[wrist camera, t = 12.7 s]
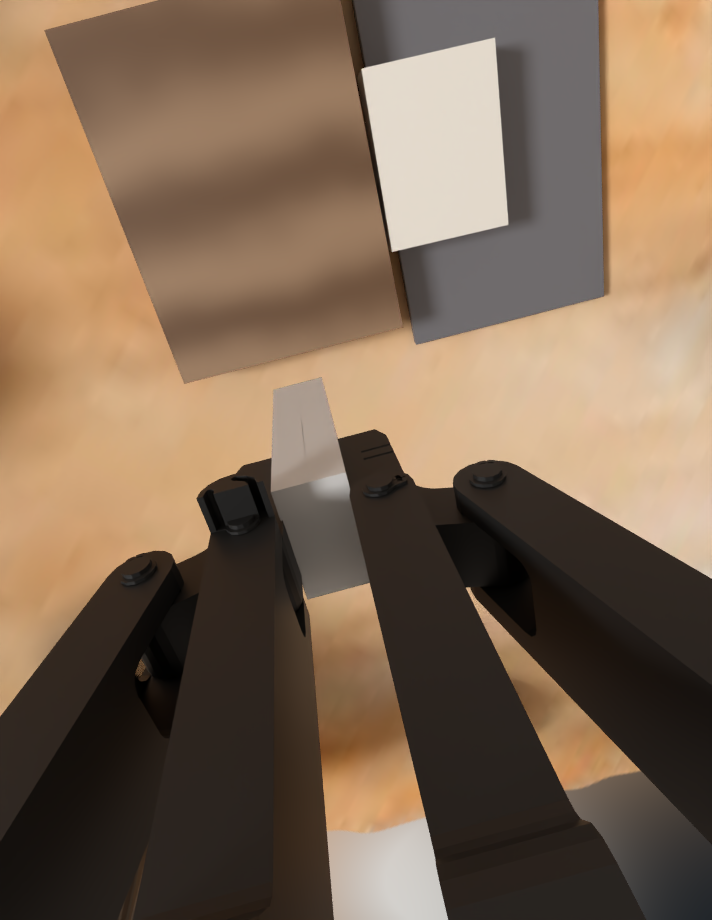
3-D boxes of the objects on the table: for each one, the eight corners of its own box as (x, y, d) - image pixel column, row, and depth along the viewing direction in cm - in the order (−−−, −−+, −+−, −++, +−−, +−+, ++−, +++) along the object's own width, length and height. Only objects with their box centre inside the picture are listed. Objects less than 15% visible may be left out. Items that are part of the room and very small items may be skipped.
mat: (599, 294, 37) (604, 296, 37) (414, 342, 37) (416, 344, 37) (589, -146, 27) (595, -152, 27) (337, -79, 27) (338, -84, 27)
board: (394, 317, 36) (403, 327, 34) (192, 369, 37) (184, 383, 34) (328, -24, 28) (331, -46, 26) (67, 45, 28) (44, 30, 26)
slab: (495, 222, 34) (508, 224, 32) (386, 248, 34) (392, 251, 32) (481, 47, 30) (494, 37, 28) (356, 76, 30) (361, 68, 28)
